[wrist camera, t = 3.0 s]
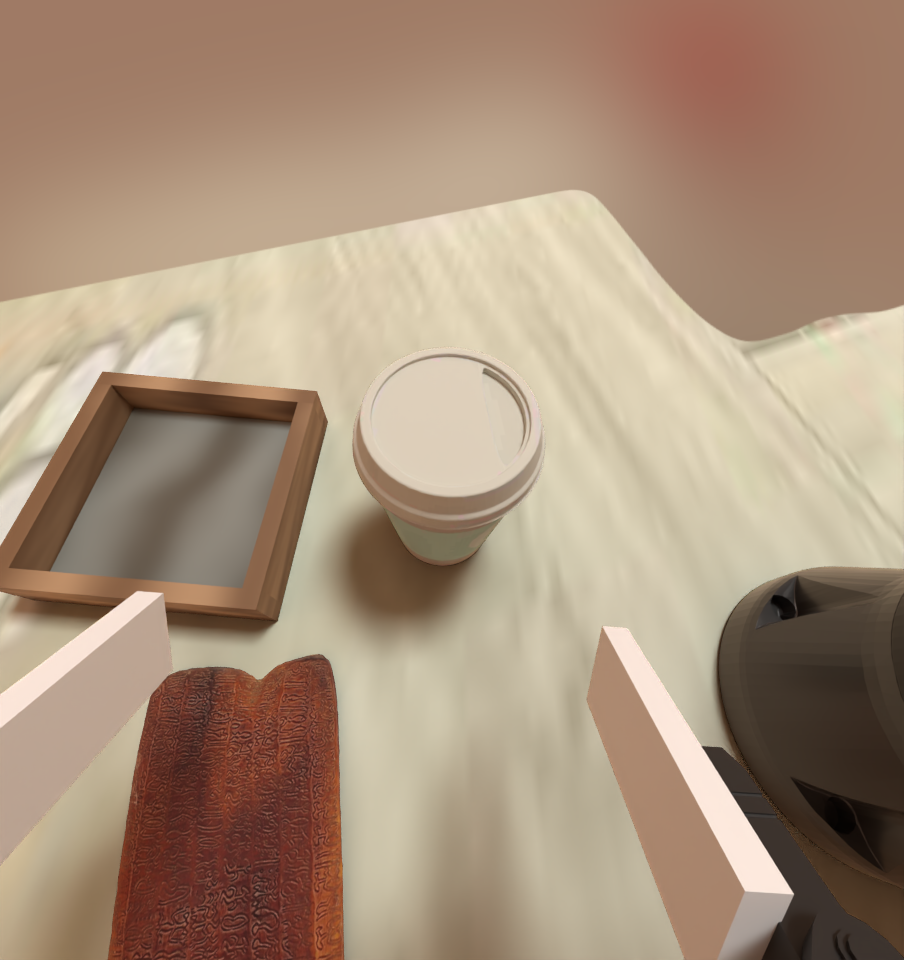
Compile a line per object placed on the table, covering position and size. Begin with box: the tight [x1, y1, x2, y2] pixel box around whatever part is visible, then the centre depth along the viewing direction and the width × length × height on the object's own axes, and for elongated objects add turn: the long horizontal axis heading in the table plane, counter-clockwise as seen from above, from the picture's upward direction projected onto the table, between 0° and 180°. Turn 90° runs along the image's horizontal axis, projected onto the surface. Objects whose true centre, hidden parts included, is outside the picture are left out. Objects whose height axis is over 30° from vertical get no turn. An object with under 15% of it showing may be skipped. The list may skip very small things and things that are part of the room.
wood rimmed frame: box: [0, 372, 328, 621], centre depth 26 cm, size 14×14×4 cm
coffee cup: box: [353, 347, 545, 566], centre depth 23 cm, size 9×8×12 cm
